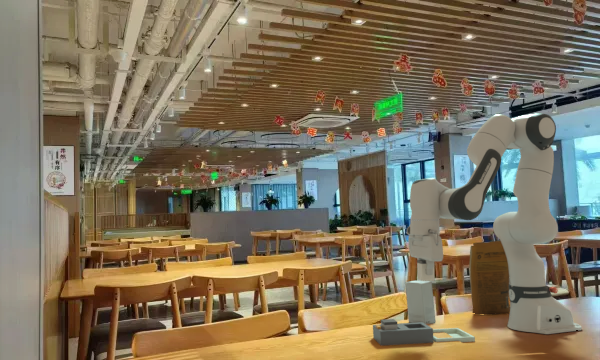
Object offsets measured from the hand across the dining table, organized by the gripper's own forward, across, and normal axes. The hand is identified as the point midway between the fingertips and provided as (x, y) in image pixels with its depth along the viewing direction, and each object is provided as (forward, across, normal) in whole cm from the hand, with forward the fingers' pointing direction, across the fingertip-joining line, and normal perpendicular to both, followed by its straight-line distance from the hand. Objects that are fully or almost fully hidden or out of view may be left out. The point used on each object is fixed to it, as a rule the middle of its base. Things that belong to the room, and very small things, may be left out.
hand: (425, 274), depth 147 cm
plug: (+2, 0, 0) cm, 2 cm away
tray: (+20, +1, -7) cm, 22 cm away
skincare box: (+20, +25, -7) cm, 33 cm away
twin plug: (+20, 0, +12) cm, 23 cm away
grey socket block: (+21, -1, +8) cm, 22 cm away
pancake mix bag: (+19, +34, -39) cm, 55 cm away
